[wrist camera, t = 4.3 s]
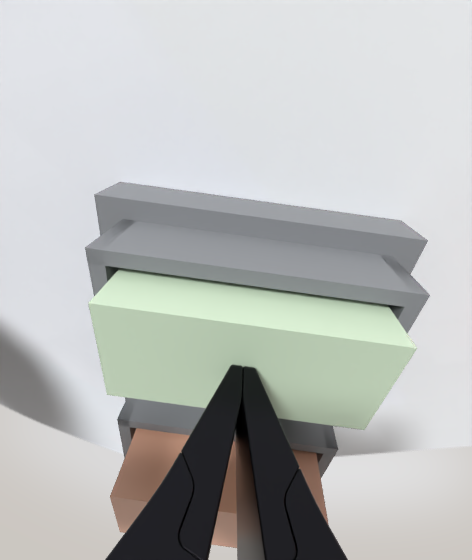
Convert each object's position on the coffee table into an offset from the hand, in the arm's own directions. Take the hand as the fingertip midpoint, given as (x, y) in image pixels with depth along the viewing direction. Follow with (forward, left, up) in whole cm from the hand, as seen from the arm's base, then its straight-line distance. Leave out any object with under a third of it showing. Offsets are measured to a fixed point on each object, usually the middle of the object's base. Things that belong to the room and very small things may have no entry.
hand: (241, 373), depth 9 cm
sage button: (0, 0, -4) cm, 4 cm away
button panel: (0, -5, -7) cm, 9 cm away
